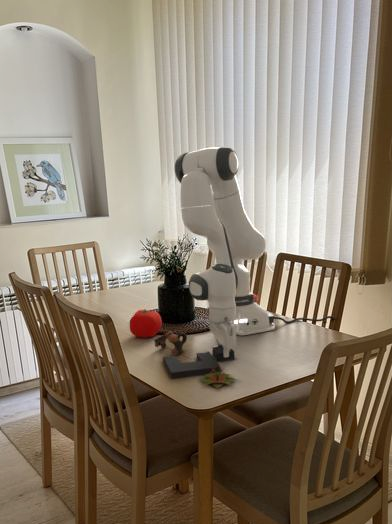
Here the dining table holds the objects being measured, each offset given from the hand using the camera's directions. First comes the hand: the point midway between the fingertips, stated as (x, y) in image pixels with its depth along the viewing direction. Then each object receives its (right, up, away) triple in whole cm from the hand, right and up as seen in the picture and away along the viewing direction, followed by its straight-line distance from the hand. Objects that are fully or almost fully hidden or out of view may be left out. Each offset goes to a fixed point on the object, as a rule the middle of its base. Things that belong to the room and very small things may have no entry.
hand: (222, 352), depth 186 cm
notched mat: (-11, -5, -7) cm, 14 cm away
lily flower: (-2, -9, -18) cm, 20 cm away
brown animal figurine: (-18, 0, +8) cm, 19 cm away
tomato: (-28, +6, +24) cm, 37 cm away
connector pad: (0, -2, +1) cm, 2 cm away
